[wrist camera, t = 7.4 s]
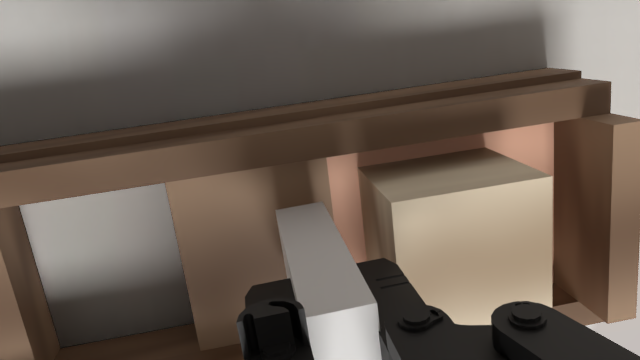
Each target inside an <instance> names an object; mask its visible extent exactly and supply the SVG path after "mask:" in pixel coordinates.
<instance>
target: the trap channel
mask: <svg viewBox="0 0 640 360" xmlns="http://www.w3.org/2000/svg"><path fill="white" fill-rule="evenodd" d="M610 106H611V82H609V81H600V80H592V79H583V78H581V71H577V70H566V69H555V68H544V69H537V70H530V71H523V72H516V73H509V74H502V75H495V76H488V77H481V78H474V79H467V80H460V81H453V82H446V83H439V84H432V85H425V86H418V87H411V88H404V89H397V90H390V91H383V92H376V93H369V94H362V95H355V96H348V97H341V98H334V99H327V100H320V101H313V102H306V103H299V104H292V105H285V106H278V107H271V108H264V109H257V110H250V111H243V112H236V113H229V114H222V115H215V116H208V117H201V118H194V119H187V120H180V121H173V122H166V123H159V124H152V125H145V126H138V127H131V128H124V129H117V130H110V131H103V132H96V133H89V134H82V135H75V136H68V137H61V138H54V139H47V140H40V141H33V142H26V143H19V144H12V145H5V146H0V360H244V358H243V353H242V348H241V343H240V339H239V334H238V329H237V324H236V322H237V319H238V316H239V314H240V313H241V312H242V311H243V310H244V309H245V296H246V294H247V293H248V291H249V290H250V288H251V287H252V286H253V285H258V284H263V283H268V282H273V281H278V280H283V279H287V274H286V269H285V263H284V257H283V251H282V246H281V240H280V234H279V228H278V223H277V217H276V211H275V210H279V209H284V208H290V207H295V206H301V205H306V204H311V203H317V202H323V203H324V205H325V207H326V209H327V211H328V213H329V215H330V216H331V218H332V220H333V222H334V224H335V226H336V228H337V229H338V231H339V233H340V235H341V237H342V239H343V241H344V242H345V244H346V246H347V248H348V250H349V252H350V254H351V255H352V257H353V259H354V261H355V263H360V262H365V261H367V257H366V247H365V238H364V228H363V218H362V208H361V199H360V189H359V179H358V170H357V167H363V166H369V165H375V164H382V163H388V162H395V161H401V160H407V159H414V158H420V157H427V156H433V155H439V154H446V153H452V152H459V151H465V150H471V149H478V148H484V147H486V148H488V149H491V150H493V151H495V152H498V153H500V154H502V155H505V156H507V157H509V158H511V159H514V160H516V161H518V162H521V163H523V164H525V165H528V166H530V167H532V168H535V169H537V170H539V171H542V172H544V173H546V174H549V175H551V176H553V237H552V308H553V309H555V310H557V311H559V312H560V313H562V314H564V315H566V316H568V317H569V318H571V319H573V320H575V321H577V322H578V323H580V324H582V325H584V326H585V325H590V324H595V323H600V322H604V321H605V322H606V323H608V324H609V323H614V322H619V321H623V320H628V319H633V318H636V305H637V284H638V262H639V242H640V119H636V118H631V117H626V116H621V115H616V114H611V113H610ZM160 183H165V186H166V190H167V195H168V200H169V205H170V209H171V214H172V219H173V223H174V228H175V233H176V238H177V242H178V247H179V252H180V257H181V261H182V266H183V271H184V276H185V280H186V285H187V290H188V294H189V299H190V304H191V309H192V313H193V318H194V324H189V325H184V326H178V327H173V328H167V329H162V330H157V331H151V332H146V333H141V334H135V335H130V336H125V337H119V338H114V339H109V340H103V341H98V342H93V343H87V344H82V345H77V346H71V347H66V348H61V349H60V345H59V342H58V339H57V335H56V332H55V328H54V325H53V322H52V318H51V315H50V311H49V308H48V305H47V301H46V298H45V294H44V291H43V288H42V284H41V281H40V277H39V274H38V271H37V267H36V264H35V260H34V257H33V254H32V250H31V247H30V243H29V240H28V237H27V233H26V230H25V226H24V223H23V220H22V216H21V213H20V209H19V205H25V204H31V203H38V202H44V201H51V200H57V199H64V198H70V197H76V196H83V195H89V194H96V193H102V192H109V191H115V190H121V189H128V188H134V187H141V186H147V185H154V184H160Z"/></svg>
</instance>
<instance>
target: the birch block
mask: <svg viewBox="0 0 640 360" xmlns="http://www.w3.org/2000/svg"><path fill="white" fill-rule="evenodd" d="M357 170H358V179H359V189H360V199H361V208H362V218H363V228H364V238H365V247H366V257H367V261H370V260H375V259H380V258H386V259H388V260H390V261H392V262H394V263H396V264H397V265H398V266H399V267H400V269H401V270H402V272H403V273H404V276H406V277H407V279H408V280H409V282H410V283H411V284H412V286H413V287H414V288H415V290H416V291H417V293H418V294H419V295H420V297H421V298H422V300H423V301H424V302H425V304H426V305H430V306H433V307H436V308H439V309H441V310H443V311H444V312H445V313H446V314H447V315H448V316H449V317H450V318H451V320H452V321H453V322H454V324H459V325H491V315H492V313H493V311H494V310H495V309H496V308H498V307H499V306H501V305H503V304H507V303H511V302H515V301H530V302H535V303H541V304H543V305H546V306H548V307H551V308H552V237H553V176H551V175H549V174H546V173H544V172H542V171H539V170H537V169H535V168H532V167H530V166H528V165H525V164H523V163H521V162H518V161H516V160H514V159H511V158H509V157H507V156H505V155H502V154H500V153H498V152H495V151H493V150H491V149H488V148H486V147H484V148H478V149H471V150H465V151H459V152H452V153H446V154H439V155H433V156H427V157H420V158H414V159H407V160H401V161H395V162H388V163H382V164H375V165H369V166H363V167H357Z"/></svg>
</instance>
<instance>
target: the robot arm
mask: <svg viewBox="0 0 640 360" xmlns="http://www.w3.org/2000/svg"><path fill="white" fill-rule="evenodd" d="M275 211H276V217H277V223H278V228H279V234H280V240H281V246H282V251H283V257H284V263H285V269H286V274H287V279H283V280H278V281H273V282H268V283H263V284H258V285H253V286H252V287H251V288H250V290H249V291H248V293H247V294H246V296H245V309H244V310H243V311H242V312H241V313H240V314H239V316H238V319H237V322H236V324H237V329H238V334H239V339H240V343H241V348H242V353H243V358H244V360H640V356H638V355H636V354H634V353H632V352H631V351H629V350H627V349H625V348H623V347H622V346H620V345H618V344H616V343H614V342H613V341H611V340H609V339H607V338H605V337H604V336H602V335H600V334H598V333H596V332H595V331H593V330H591V329H589V328H587V327H586V326H584V325H582V324H580V323H578V322H577V321H575V320H573V319H571V318H569V317H568V316H566V315H564V314H562V313H560V312H559V311H557V310H555V309H553V308H551V307H548V306H546V305H543V304H541V303H535V302H530V301H515V302H511V303H507V304H503V305H501V306H499V307H498V308H496V309H495V310H494V311H493V313H492V315H491V325H459V324H454V322H453V321H452V320H451V318H450V317H449V316H448V315H447V314H446V313H445V312H444V311H443V310H441V309H439V308H436V307H433V306H430V305H426V304H425V302H424V301H423V300H422V298H421V297H420V295H419V294H418V293H417V291H416V290H415V288H414V287H413V286H412V284H411V283H410V282H409V280H408V279H407V277H406V276H404V273H403V272H402V270H401V269H400V267H399V266H398V265H397V264H396V263H394V262H392V261H390V260H388V259H386V258H380V259H375V260H370V261H365V262H360V263H355V261H354V259H353V257H352V255H351V254H350V252H349V250H348V248H347V246H346V244H345V242H344V241H343V239H342V237H341V235H340V233H339V231H338V229H337V228H336V226H335V224H334V222H333V220H332V218H331V216H330V215H329V213H328V211H327V209H326V207H325V205H324V203H323V202H317V203H311V204H306V205H301V206H295V207H290V208H284V209H279V210H275Z"/></svg>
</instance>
